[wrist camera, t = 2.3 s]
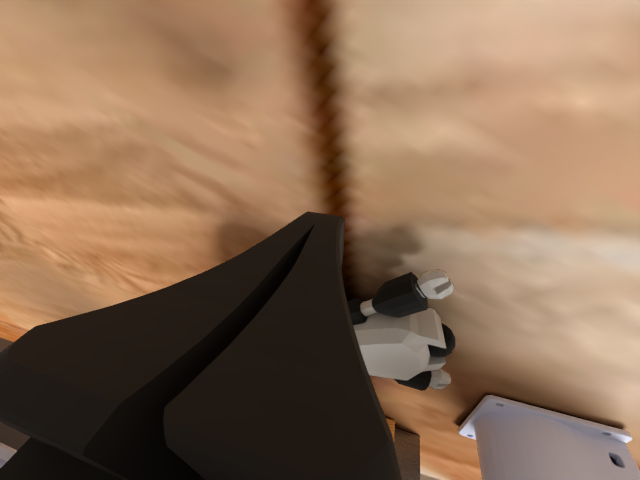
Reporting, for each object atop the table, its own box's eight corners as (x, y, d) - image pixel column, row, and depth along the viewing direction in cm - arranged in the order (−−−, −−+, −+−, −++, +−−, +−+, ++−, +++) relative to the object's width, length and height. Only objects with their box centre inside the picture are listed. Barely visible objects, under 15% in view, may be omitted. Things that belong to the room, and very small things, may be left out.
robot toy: (447, 232, 15) (231, 251, 20) (466, 288, 12) (196, 296, 16) (446, 355, 22) (283, 348, 26) (458, 416, 18) (266, 395, 23)
